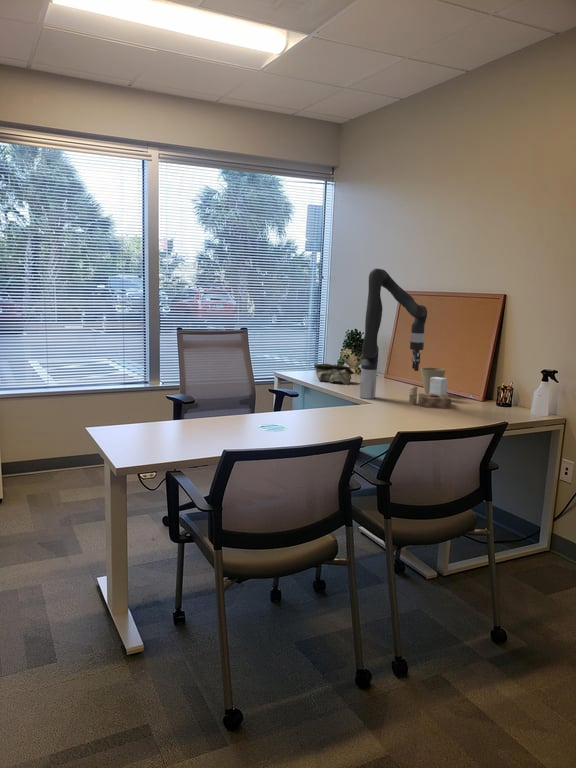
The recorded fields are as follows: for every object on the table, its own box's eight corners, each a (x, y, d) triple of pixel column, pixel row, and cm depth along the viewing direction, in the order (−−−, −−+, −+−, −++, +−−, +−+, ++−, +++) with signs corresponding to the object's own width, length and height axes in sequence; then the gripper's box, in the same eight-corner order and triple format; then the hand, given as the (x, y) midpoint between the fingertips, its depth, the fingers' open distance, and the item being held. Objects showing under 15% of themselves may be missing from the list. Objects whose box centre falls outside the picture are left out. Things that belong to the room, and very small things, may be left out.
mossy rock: (313, 386, 400) (307, 373, 389) (318, 372, 407) (312, 358, 396) (351, 390, 388) (346, 376, 377) (356, 375, 394) (351, 361, 384)
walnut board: (421, 406, 321) (422, 398, 320) (418, 401, 335) (418, 393, 334) (450, 408, 320) (451, 399, 319) (446, 403, 334) (446, 394, 333)
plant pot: (427, 391, 372) (429, 366, 369) (447, 394, 362) (449, 369, 359) (414, 393, 361) (416, 368, 359) (435, 397, 351) (437, 371, 348)
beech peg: (409, 404, 326) (410, 387, 325) (408, 403, 330) (409, 385, 329) (416, 404, 326) (418, 387, 324) (415, 403, 330) (417, 386, 328)
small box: (446, 400, 344) (448, 378, 341) (439, 401, 340) (441, 379, 337) (435, 397, 350) (436, 376, 348) (428, 398, 346) (430, 377, 344)
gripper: (408, 339, 329) (406, 367, 332) (412, 342, 315) (410, 371, 318) (422, 340, 329) (420, 368, 332) (425, 342, 315) (423, 371, 318)
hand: (415, 369), depth 325 cm, fingers open, 8 cm apart
